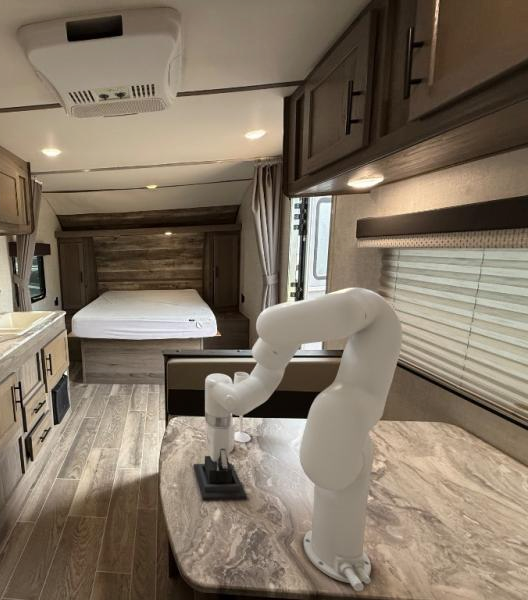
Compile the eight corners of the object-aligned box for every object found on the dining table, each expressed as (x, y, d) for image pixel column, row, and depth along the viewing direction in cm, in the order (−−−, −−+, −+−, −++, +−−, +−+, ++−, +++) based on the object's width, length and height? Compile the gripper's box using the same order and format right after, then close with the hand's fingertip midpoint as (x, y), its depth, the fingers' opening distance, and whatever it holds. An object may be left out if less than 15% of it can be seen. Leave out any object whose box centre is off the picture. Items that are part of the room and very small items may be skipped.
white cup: (210, 452, 111) (210, 424, 110) (212, 439, 119) (212, 413, 117) (234, 455, 109) (235, 428, 107) (235, 442, 116) (235, 416, 115)
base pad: (246, 499, 90) (246, 491, 90) (202, 500, 90) (202, 492, 90) (231, 466, 104) (231, 458, 103) (193, 466, 104) (193, 459, 104)
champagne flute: (245, 431, 123) (246, 370, 119) (253, 441, 116) (255, 377, 113) (228, 432, 122) (228, 371, 119) (235, 442, 116) (236, 378, 112)
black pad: (232, 482, 94) (232, 469, 93) (209, 482, 94) (209, 470, 93) (225, 467, 100) (226, 455, 99) (204, 467, 100) (204, 455, 99)
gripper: (199, 403, 103) (199, 455, 105) (212, 434, 85) (212, 495, 88) (223, 402, 102) (222, 454, 105) (241, 433, 85) (239, 495, 88)
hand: (217, 472), depth 97 cm, fingers closed on black pad, 6 cm apart
